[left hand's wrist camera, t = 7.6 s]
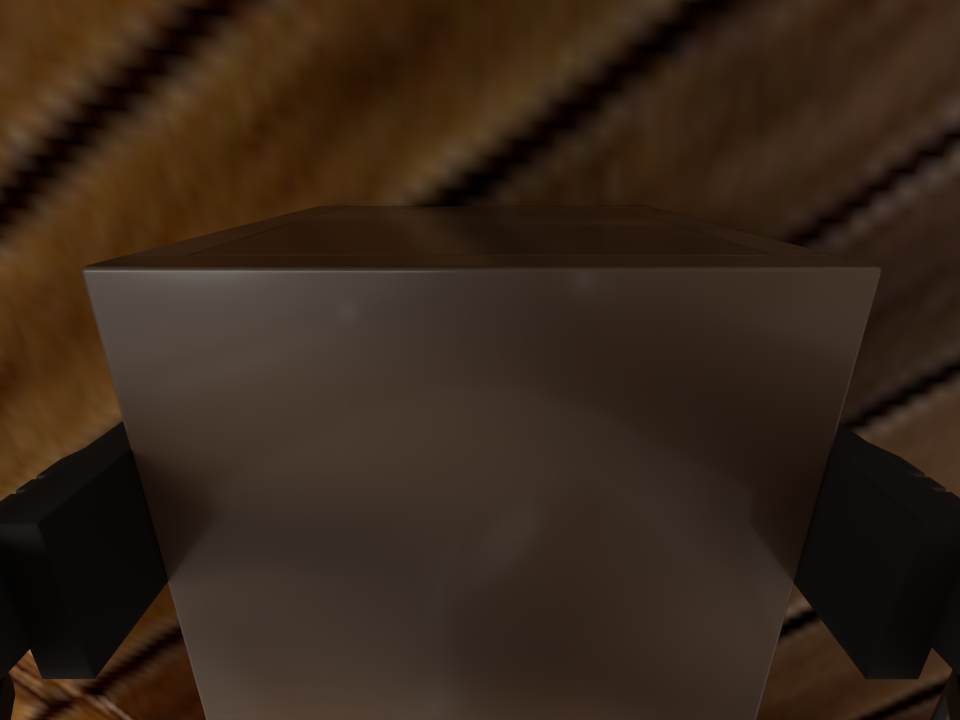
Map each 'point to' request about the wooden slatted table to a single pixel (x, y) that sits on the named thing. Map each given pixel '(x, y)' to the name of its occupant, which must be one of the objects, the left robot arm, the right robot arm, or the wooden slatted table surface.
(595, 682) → the cabinet
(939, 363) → the wooden slatted table surface
